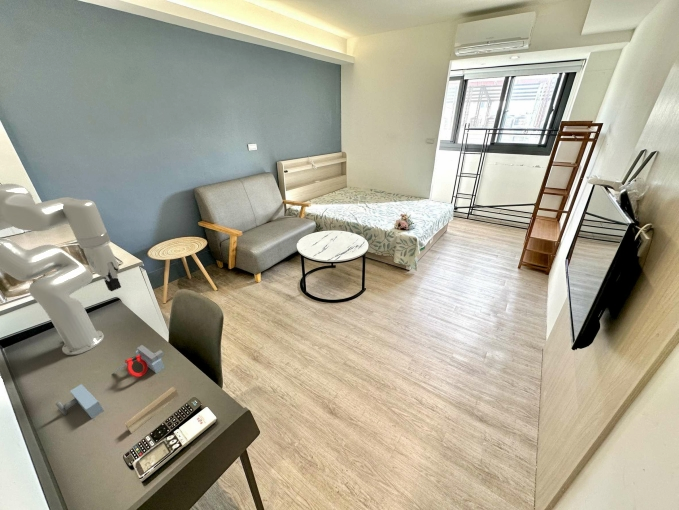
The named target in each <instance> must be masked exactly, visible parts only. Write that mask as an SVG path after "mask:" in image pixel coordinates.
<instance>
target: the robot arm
mask: <svg viewBox="0 0 679 510" xmlns="http://www.w3.org/2000/svg"><path fill="white" fill-rule="evenodd" d="M68 224H69V227H70V229H71V231H72V233H73V235H74V237H75V239H76V241H77V244H78V245H79V248H80V249H82V250H83V253H84V255H85V259H86V260H87V263H88V266H89V268H90V269H89V268H88V267H87V266H86V265H85V264H83V263H82V262H80V261H79V260H78V259H77V258H75V257H74V256H72V255H71V254H70V253H68V252H67V251H65V250H64V249H63V248H62V247H59V246H58V245H53V244H43V245H39V246H37V247H34V248H31V249H25V248H23V247H22V246H20V245H19V244H18V243H16V242H14V241H13V240H10V239H8V238H4V237H0V270H2V272H5V274H7V275H9V276H10V277H12V278H13V279H16V280H17V281H19V282H28V281H31V280H34V279H36V280H35V281H33V282H32V283H31V284H30V285H29V287H28V292H29V294H30V295H31V298H33V299H34V300H35V301H36V302H37V303H38V304H39V305H40V307H42V309H43V310H44V312H45V313H46V314H47V316H48V318H49V319H50V321H51V323H52V324H53V326H54V327H55V329H56V332H57V333H58V335H59V336H60V338H61V339H62V342H63V343H64V344H63V346H62V348H61V351H62V353H63V354H65V355H67V356H74V355H80V354H83V353H85V352H88V351H90V350H92V349H94V348H95V347H97V346H98V345H99V344H100V343H101V342H102V341H103V340H104V337H105V335H104V333H103V332H102V331H101V330H96V328H95V326H94V324H93V322H92V321H91V319H90V317H89V314H88V313H87V311H86V309H85V307H84V305H83V303H82V302H81V301H80V300H79V299H76V298H73V297H70V296H71V295H72V294H74V293H75V292H77V291H79V290H80V289H82V288H84V287H86V286H87V285H89V284H90V283H91V282H92V281H93V278H94V277H93V276H94V275H93V272H94V273H95V274H97V275H99V276H100V277H102V279H103V280H104V281H103V282H104V283H105V285H106V287H107V290H108V291H110V292H114V291H117V290H119V289H121V288H122V285H121V283H120V281H119V277H118V276H119V275H118V274H117V272H120V270H121V269H120V267H119V262H118V261H117V259H116V256H115V254H114V253H113V250H112V248H111V246H110V243H111V239H110V236H109V234H108V231H107V229H106V226H105V223H104V221H103V219H102V216H101V213H100V211H99V210H98V207H97V205H96V203H95V202H94V201H93V200H90V199H78V198H74V197H68V196H66V197H58V198H56V199H49V200H45V201H42V202H37V203H36V201H35V199H34V197H33V195H32V193H31V192H30V191H29V189H27V188H25V187H24V186H22V185H19V184H16V183H3V184H0V231H3V230H6V229H9V228H13V227H14V228H16V229H18V230H21V231H22V230H23V231H30V232H44V231H49V230H52V229H55V228H58V227H61V226H63V225H68ZM52 271H53V272H52ZM91 271H92V272H91ZM39 277H40V278H39ZM37 278H38V279H37Z"/></svg>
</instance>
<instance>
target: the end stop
mask: <svg viewBox="0 0 679 510" xmlns="http://www.w3.org/2000/svg"><path fill="white" fill-rule="evenodd" d="M178 396H179V394H178V391H177V389H176V388H175V387H174V386H172V387H170V388H169V389H168V390H166V391H165V392H164V393H162V394H161V395H159V397H157V398H156V399H155V400H153V401H152V402H151V403H150V404H148V405H147V406H146V407H144V408H142V410H140V411H139V412H137V413H136V414H135V415H133V416H132V417H131V418H130V419H128V420H127V421H126V422H124V424H125V428H126V429H127V430H128V431H129V432H130V434H133V433H134V432H135V431H137V430H138V429H139V428H141V427H142V426H143V425H144V424H145V423H147V422H148V421H149V420H151V419H152V418H153V417H154V416H155V415H157V414H158V413H160V411H161V410H163V409H164V408H165V407H166V406H168V405H169V404H170V403H171V402H172V401H174V400H175V399H176V398H177V397H178Z"/></svg>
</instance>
